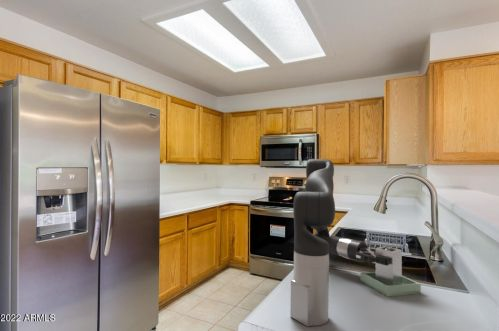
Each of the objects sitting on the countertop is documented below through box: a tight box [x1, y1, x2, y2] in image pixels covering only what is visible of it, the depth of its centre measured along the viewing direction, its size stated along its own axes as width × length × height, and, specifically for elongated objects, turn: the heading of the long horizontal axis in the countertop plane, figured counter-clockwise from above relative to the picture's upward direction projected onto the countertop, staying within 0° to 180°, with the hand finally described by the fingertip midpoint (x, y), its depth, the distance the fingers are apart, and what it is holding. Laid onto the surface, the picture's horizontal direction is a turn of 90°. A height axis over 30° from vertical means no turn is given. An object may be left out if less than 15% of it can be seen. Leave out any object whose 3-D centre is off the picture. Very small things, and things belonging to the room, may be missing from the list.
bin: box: [360, 271, 422, 297], centre depth 94 cm, size 13×13×3 cm
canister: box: [375, 245, 403, 286], centre depth 94 cm, size 6×6×12 cm
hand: (394, 260), depth 93 cm, fingers open, 8 cm apart
